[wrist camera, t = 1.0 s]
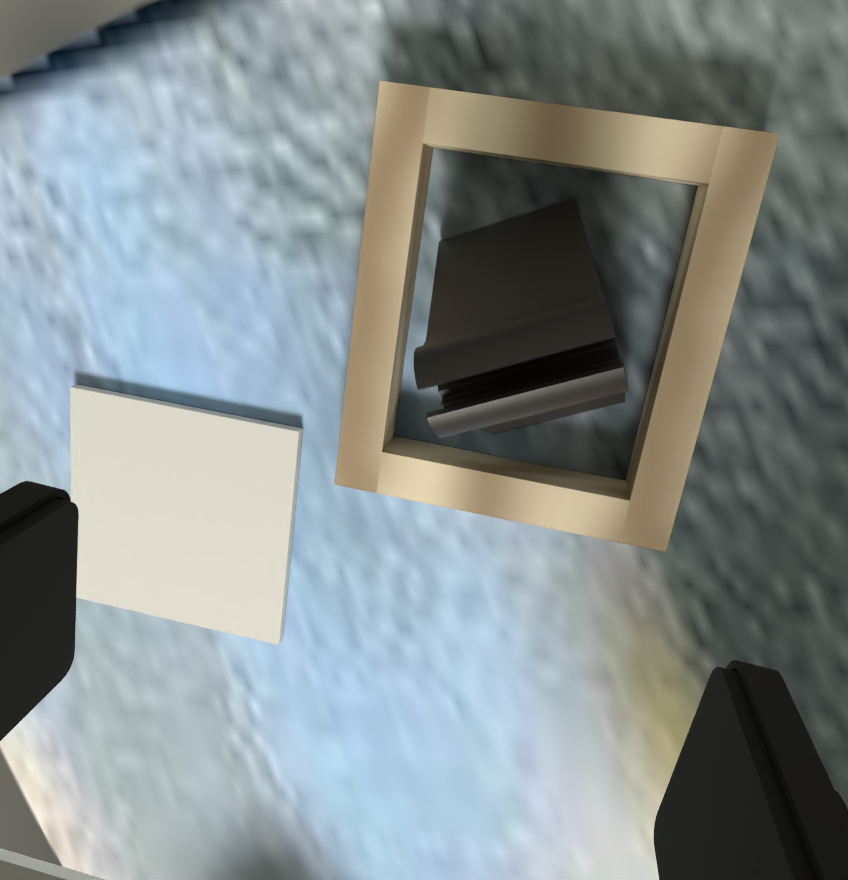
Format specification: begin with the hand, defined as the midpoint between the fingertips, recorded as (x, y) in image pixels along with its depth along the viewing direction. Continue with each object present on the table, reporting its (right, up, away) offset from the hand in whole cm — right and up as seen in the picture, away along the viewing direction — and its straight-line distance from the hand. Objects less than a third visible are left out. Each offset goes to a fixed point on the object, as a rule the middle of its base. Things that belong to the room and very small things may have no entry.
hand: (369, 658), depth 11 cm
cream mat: (-12, -1, +29) cm, 31 cm away
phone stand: (+6, +8, +23) cm, 25 cm away
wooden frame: (+6, +8, +22) cm, 25 cm away
